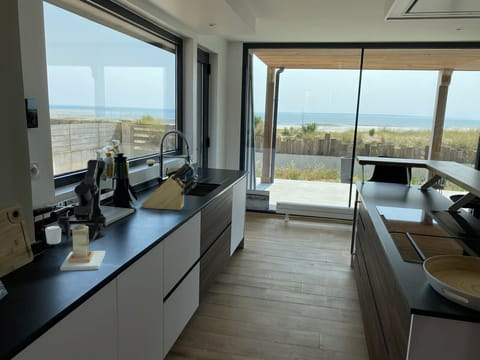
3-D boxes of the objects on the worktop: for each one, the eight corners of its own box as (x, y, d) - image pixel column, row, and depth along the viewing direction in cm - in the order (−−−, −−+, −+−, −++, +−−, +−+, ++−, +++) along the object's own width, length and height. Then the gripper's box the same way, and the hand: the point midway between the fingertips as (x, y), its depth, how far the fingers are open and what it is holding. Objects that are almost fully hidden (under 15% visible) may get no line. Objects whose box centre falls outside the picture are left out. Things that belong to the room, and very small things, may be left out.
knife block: (195, 211, 235) (196, 164, 229) (140, 208, 236) (140, 161, 230) (197, 207, 246) (198, 161, 240) (145, 204, 247) (145, 159, 241)
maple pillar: (76, 256, 152) (75, 224, 150) (89, 255, 154) (88, 224, 151) (73, 261, 148) (72, 228, 145) (86, 260, 149) (85, 227, 146)
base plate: (70, 254, 157) (70, 248, 157) (105, 253, 160) (104, 247, 160) (60, 270, 142) (60, 263, 141) (98, 269, 145) (98, 262, 144)
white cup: (46, 240, 173) (46, 226, 172) (62, 239, 176) (62, 225, 174) (44, 245, 167) (43, 230, 166) (61, 244, 169) (60, 229, 168)
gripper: (57, 197, 148) (50, 232, 140) (105, 197, 152) (101, 231, 143) (63, 211, 157) (57, 244, 149) (108, 211, 161) (105, 243, 152)
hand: (80, 240), depth 148 cm, fingers open, 9 cm apart
